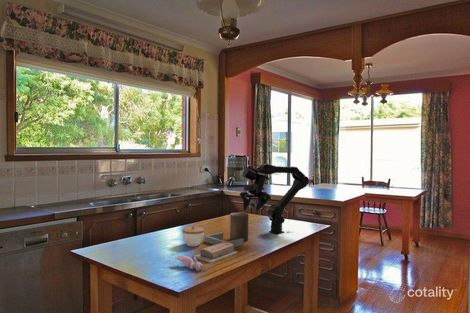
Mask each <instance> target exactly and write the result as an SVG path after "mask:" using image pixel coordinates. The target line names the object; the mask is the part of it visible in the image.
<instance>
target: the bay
mask: <svg viewBox="0 0 470 313" xmlns="http://www.w3.org/2000/svg"><path fill="white" fill-rule="evenodd" d="M203 239H204V240H203V242H205V243H207V244H210V245H211V246H213V245H216V244H219V243H223V242H228V243H232V244H233V245H234V248H237V247H241V246H244V243H245V241H244V239H242V238H241V239H236V240H232V241H231V240H229V241H226V240H223V239H224V232H216V233H211V234H206V235H204V236H203Z"/></svg>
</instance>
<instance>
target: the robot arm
mask: <svg viewBox="0 0 470 313" xmlns="http://www.w3.org/2000/svg"><path fill="white" fill-rule="evenodd" d="M278 173H279V174H291V177H292V178H293V182H292V185H291V187H290V188H288V190H287V192H286V193H285V194H284V195H283V196H282V198H280V200H279V201H278V202H277V203H276V204H273V203H272V204H271V205H270V206H269V207H268V208H267V211H266V216H267V217H268V219H269V221H271V222H270V230H269V231H268V233H270V234H275V235H279V234H283V233H285V231H283V224H284V223H285V220H286V218H284V217H283V216H282V215H283V214H284V210H285V208H286V207H287V206H288V204H290V202H291V201H292V200H293V198H294V197H295V196H296V195H297V194H298V192H299V191H301V190H303V189H305V188H306V187H307V186H308V185H309V184H310V178H309V177H308V176H306V175H305V173H303V172H302V171H301V170H300V169H299V168H298V167H297V166H281V165H279V166H278V165H277V166H276V165H272V164H268V163H261V164H260V165H259V166H258V167H256V168H254V167H252V166H250V165H248V166H247V167H246V168H245V169H244V170H243V171H242V177H243V178H244V179H246V180H249V181H251V182H253V183H251V184H244V185H243V191H241V192H240V194H239V197H240V198H241V199H242V202H243V211H246V210H247V208H248V207H249V205H250V203H251V199H252V198H254V199H255V198H257V204H256V208H255V211H256V212H258V211H259V210H260V209H261V208H262V207H263V206H264V205H265V204H267V203H268V202H270V201H271V199H272V197H271V196H272V195H270V194H269V193H268V192H266V191H264V190H265V183H266V182H267V181H270V178H269V175H273V174H278Z"/></svg>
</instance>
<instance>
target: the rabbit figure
mask: <svg viewBox="0 0 470 313" xmlns="http://www.w3.org/2000/svg"><path fill="white" fill-rule="evenodd" d="M174 259H177V260H178V261H179V262H181V263H182V264H183V267H186V268H189V269H190V268H193V269H195V270H196V271H197V272H201V273H203V272H204V270H203V269H204V268H205V270H207V269H208V267H207V265H205V264H202V263H201V262H200V261H198V259H197V258H195V254H192V255H191V257H190V256H186V255H183V254H182V255H178V256H175V257H174Z"/></svg>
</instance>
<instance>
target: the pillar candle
mask: <svg viewBox="0 0 470 313" xmlns="http://www.w3.org/2000/svg"><path fill="white" fill-rule="evenodd" d="M229 215H230V218H229V220H230V221H229V222H230V223H229V224H230V225H229V241H232V240H236V239H241V238H242V239H244V242H248V241H249V213H247V212H242V211H241V212H240V211H237V212H231V213H230V214H229Z"/></svg>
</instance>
